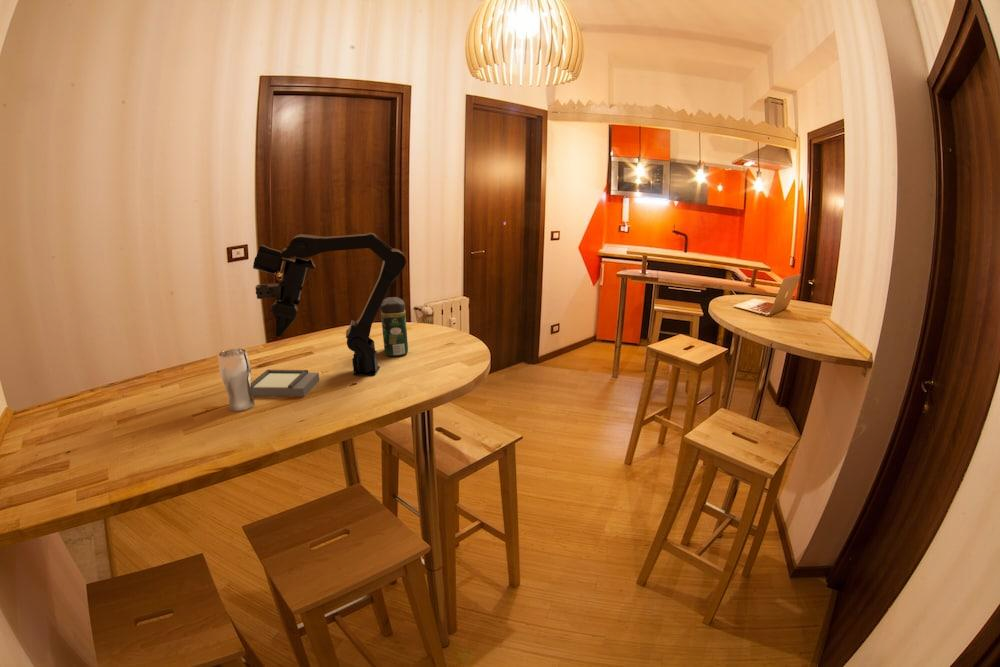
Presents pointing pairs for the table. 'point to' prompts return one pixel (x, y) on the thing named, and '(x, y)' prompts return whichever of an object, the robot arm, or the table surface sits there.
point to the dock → (284, 383)
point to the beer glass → (236, 378)
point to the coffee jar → (394, 326)
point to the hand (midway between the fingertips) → (279, 331)
